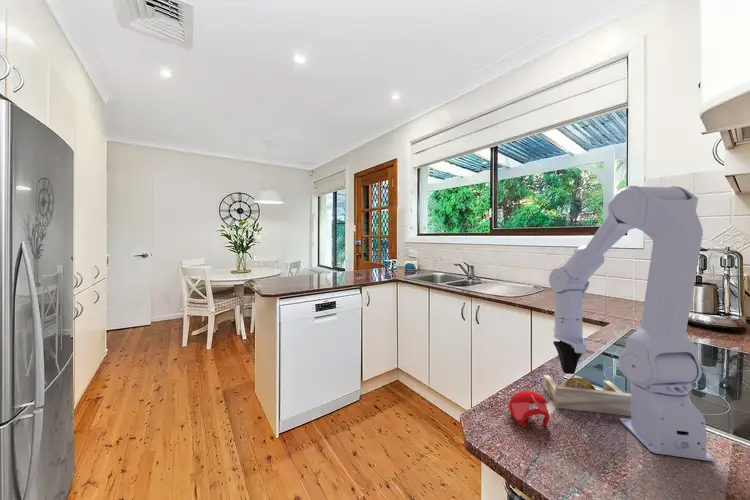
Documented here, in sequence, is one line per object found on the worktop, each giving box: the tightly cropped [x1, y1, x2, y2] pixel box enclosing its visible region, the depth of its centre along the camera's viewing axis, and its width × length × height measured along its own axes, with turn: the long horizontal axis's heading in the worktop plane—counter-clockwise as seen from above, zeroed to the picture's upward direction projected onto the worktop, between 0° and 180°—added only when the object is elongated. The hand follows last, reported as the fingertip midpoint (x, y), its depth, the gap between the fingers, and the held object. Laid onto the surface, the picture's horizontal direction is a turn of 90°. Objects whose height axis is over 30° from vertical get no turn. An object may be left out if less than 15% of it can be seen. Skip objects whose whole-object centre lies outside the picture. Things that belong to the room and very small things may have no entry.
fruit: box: [563, 377, 596, 390], centre depth 65 cm, size 8×8×4 cm
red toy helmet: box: [508, 390, 550, 428], centre depth 56 cm, size 8×6×6 cm
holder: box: [543, 374, 631, 417], centre depth 63 cm, size 9×13×4 cm
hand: (568, 372), depth 72 cm, fingers closed
